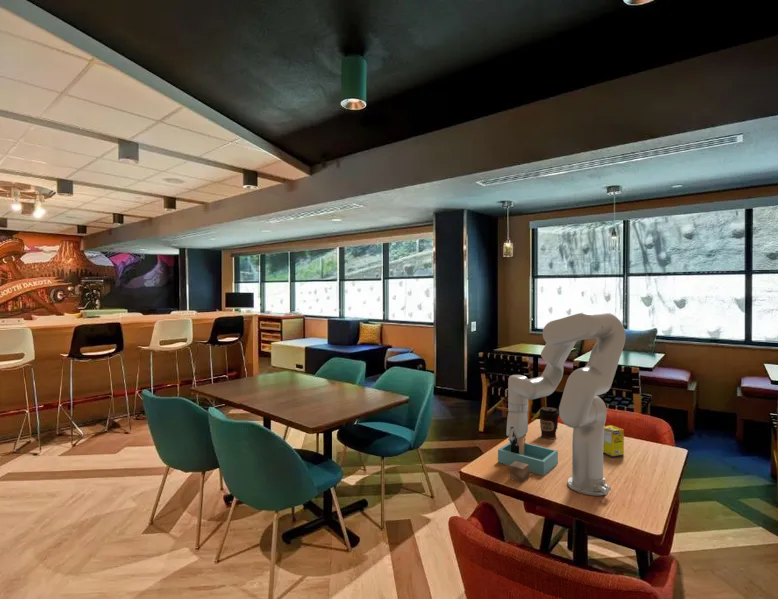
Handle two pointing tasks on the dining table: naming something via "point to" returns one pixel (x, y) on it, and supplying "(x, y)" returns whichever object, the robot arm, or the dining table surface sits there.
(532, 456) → the tote
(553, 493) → the dining table surface
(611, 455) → the supplement box
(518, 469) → the cube
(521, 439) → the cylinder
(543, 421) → the coffee cup
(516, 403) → the robot arm
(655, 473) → the dining table surface
